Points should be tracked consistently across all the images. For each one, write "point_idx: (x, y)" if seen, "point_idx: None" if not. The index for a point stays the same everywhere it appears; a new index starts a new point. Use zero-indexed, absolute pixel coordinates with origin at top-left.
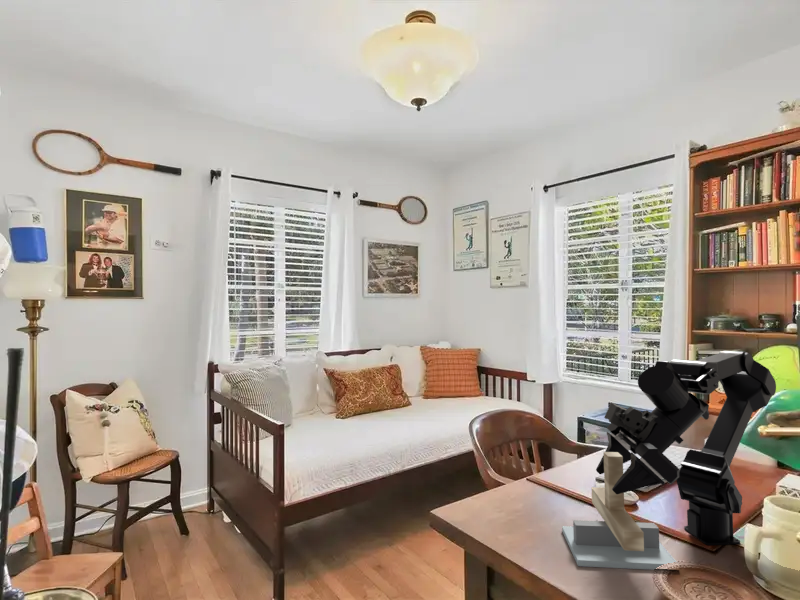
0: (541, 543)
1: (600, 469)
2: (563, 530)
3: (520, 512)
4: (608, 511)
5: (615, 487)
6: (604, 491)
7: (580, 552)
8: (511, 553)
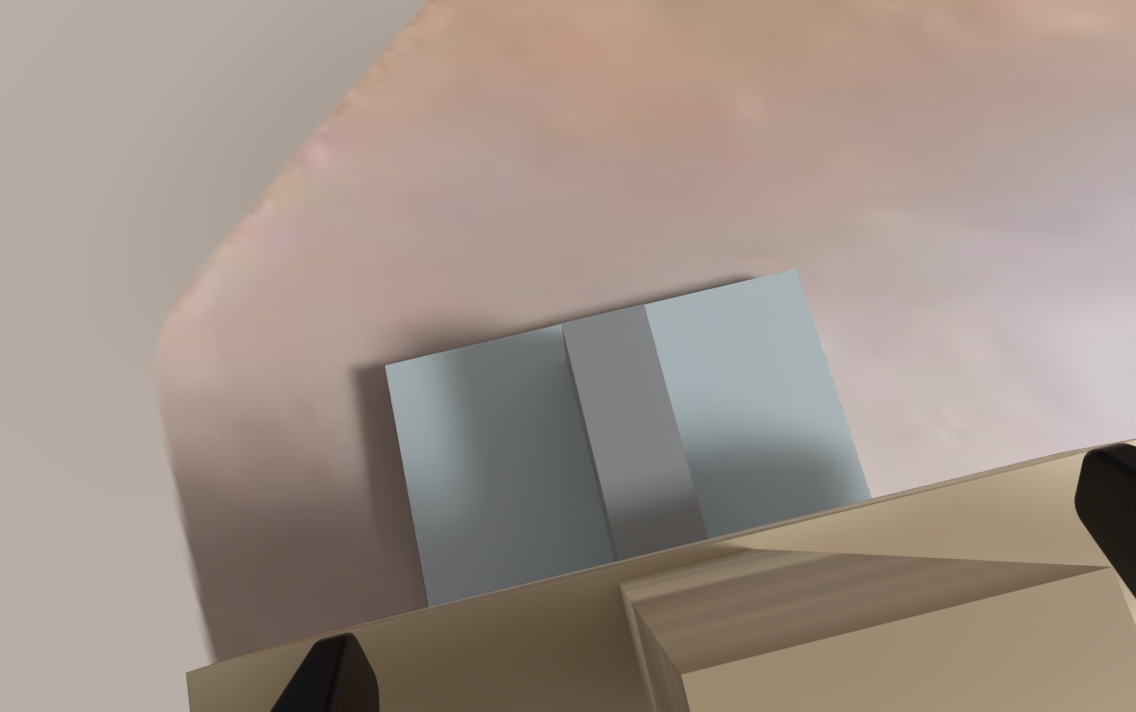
0: (602, 178)
1: (1123, 510)
2: (751, 281)
3: (963, 33)
4: (605, 570)
5: (291, 688)
6: (1101, 564)
7: (479, 380)
8: (443, 47)
